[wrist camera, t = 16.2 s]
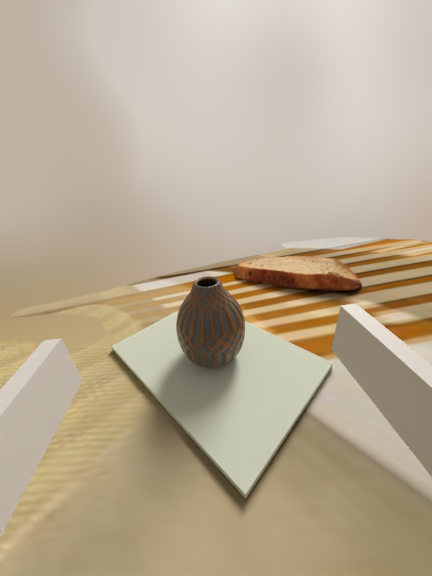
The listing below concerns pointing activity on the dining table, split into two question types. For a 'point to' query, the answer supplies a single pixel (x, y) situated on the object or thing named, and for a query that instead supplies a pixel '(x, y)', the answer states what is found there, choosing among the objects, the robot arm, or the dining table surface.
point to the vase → (210, 324)
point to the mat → (228, 394)
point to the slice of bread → (299, 273)
